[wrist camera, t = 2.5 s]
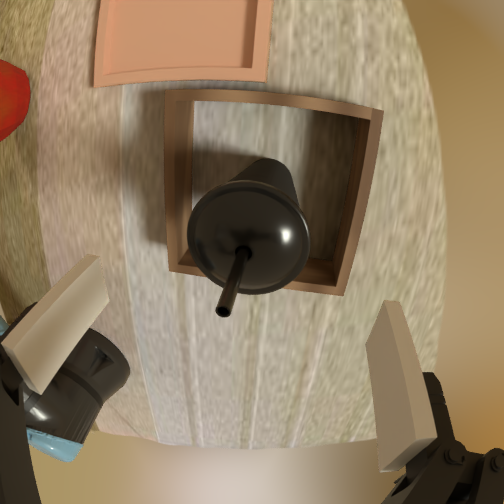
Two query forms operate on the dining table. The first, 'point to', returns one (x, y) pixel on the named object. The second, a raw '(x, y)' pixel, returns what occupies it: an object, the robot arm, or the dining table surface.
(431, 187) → the dining table surface
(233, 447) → the dining table surface
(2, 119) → the apple
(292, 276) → the drinking cup
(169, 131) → the wooden frame
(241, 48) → the tray
